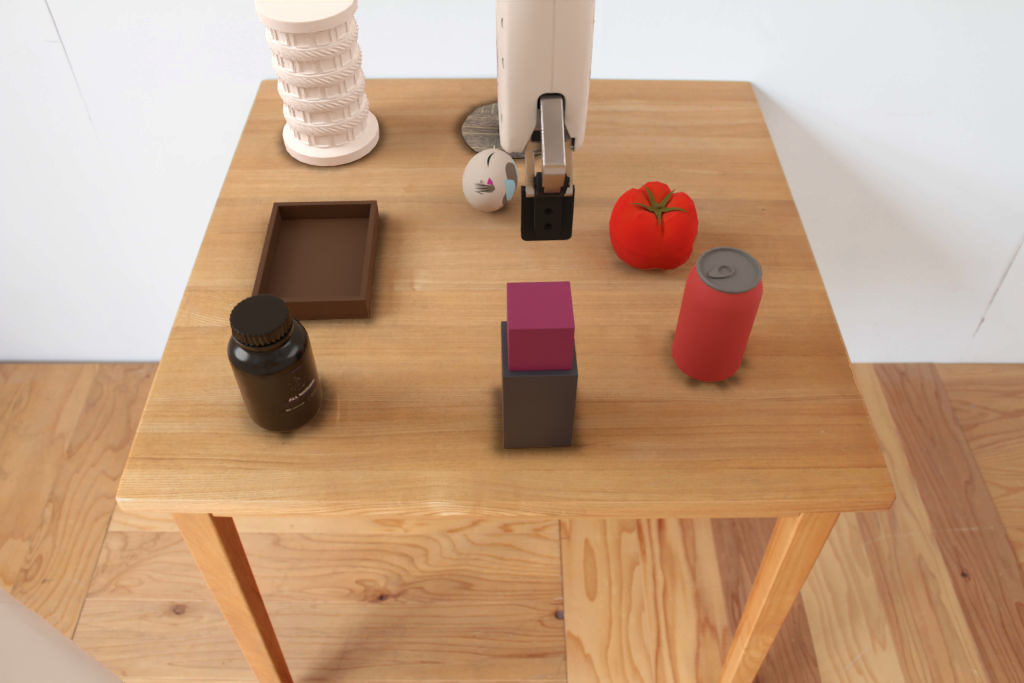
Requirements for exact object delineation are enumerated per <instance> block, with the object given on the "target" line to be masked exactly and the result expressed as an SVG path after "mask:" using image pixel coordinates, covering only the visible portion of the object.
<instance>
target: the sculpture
mask: <svg viewBox="0 0 1024 683" xmlns="http://www.w3.org/2000/svg"><path fill="white" fill-rule="evenodd" d="M461 136H462V138H463V140H464V142H465V143H466V145H468V147H470V149H472V150H474V152H476V153H479V152H481V151H484V150H487V149H493V147H494V145H495V149H499V150H502V151H504V152H506V151H505V150H504V149H503V148H502V146H501V143H500V132H499V113H498V101H497V102H494V103H491V104H487V105H482V106H479V107H476V108H475V110H473V112H471V113H469V114H468V115H467V118H465V120H464V122H463V123H462V126H461ZM506 153H507V152H506ZM507 154H508V155H509V156H510V157H511V158H512V159H523V158H524V159H525V151H524V150H523V151H522V152H512V153H507ZM537 155H542V154H541V153H534V156H537Z"/></svg>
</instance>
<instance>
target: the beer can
mask: <svg viewBox="0 0 1024 683" xmlns="http://www.w3.org/2000/svg"><path fill="white" fill-rule="evenodd" d="M763 275H764V274H763V269H762V266H761V264H760V262H759V260H757V259H756V257H754V256H753V255H752V254H750V253H749V252H747V251H745V250H743V249H740V248H737V247H732V246H717V247H712V248H709V249H707V250H705V251H704V252H702V253H701V254H700V255H699V256H698V258H697V261H696V263H695V264H694V265H693V266H692V268H691V269H690V271H689V273H688V274H687V278H686V281H685V287H684V290H683V295H682V300H681V304H680V308H679V313H678V318H677V322H676V327H675V331H674V336H673V340H672V345H671V357H672V359H673V362H674V364H675V366H676V367H677V368H678V369H679V370H680V371H681V372H682V373H683V374H684V375H686V376H688V377H690V378H691V379H693V380H697V381H699V382H703V383H704V382H705V383H717V382H721V381H726V380H727V379H730V377H733V376H734V375H735V374H736V373H737V372H738V370H739V369H740V368H741V365H742V361H743V358H744V355H745V352H746V349H747V346H748V342H749V340H750V336H751V334H752V333H751V332H752V330H753V327H754V323H755V320H756V317H757V314H758V311H759V308H760V305H761V302H762V298H763V295H764V294H763V293H764V284H763V280H762V279H763V278H762V277H763Z"/></svg>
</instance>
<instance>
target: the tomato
mask: <svg viewBox="0 0 1024 683" xmlns="http://www.w3.org/2000/svg"><path fill="white" fill-rule="evenodd" d="M675 191H676V188H674V189H673V190H672V189H670V187H669V186H668V184H667V183H665V182H661V181H658V180H654V181H647V182H646V183H644V184H641V186H640V187H639V188H634V187H632V188H630V189H628V190H626V191H625V192H623V193H622V195H620V196H619V197H618V199H617V200H616V202H615V203H614V205H613V208H612V210H611V214H610V216H609V217H610V218H609V222H608V231H609V234H608V235H609V241H610V244H611V246H612V249H613V251H614V253H615V254H616V256H617V258H618V259H619V260H621V261H622V262H623V263H624V264H626V265H627V266H629V267H631V268H634V269H638V270H654V269H658V270H662V271H671V270H677V269H678V268H680V267H682V266H683V265H685V264H686V263H687V262H688V261H689V260H690V259H691V256H692V253H693V250H694V243H695V241H696V239H697V236H698V233H699V218H698V212H697V208H696V204H695V201H694V200H693V199H692V198H691V196H689V194H688V193H685V192H684V191H679V192H675Z"/></svg>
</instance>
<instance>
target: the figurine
mask: <svg viewBox="0 0 1024 683" xmlns="http://www.w3.org/2000/svg"><path fill="white" fill-rule="evenodd" d="M461 182H462V183H461V185H462V192H463V195H464V197H465V200H466V201H467V203H468V204H469V205H470V206H471V207H473V208H474V209H476V210H478V211H481V212H484V213H486V212H487V213H488V212H489V213H490V212H495V211H497V210H500V209H502V208H504V207H505V206H506V205H507V204H508V203H509V202H510V201H511V200H512V198H513V197H514V195H515V193H516V191H517V187H518V183H519V173H518V168H517V165H516V162H515V161H514V158H512V157H510V156H509V155H508V154H507V153H506V152H504V151H502V150H499V149H495V145H494V147H493V149H487V150H484V151H481V152H477V153H476V154H475V155H474V156H473V157H472V158H471V159H470V160H469V161H468V163H467V164H466V166H465V168H464V171H463V174H462V180H461Z"/></svg>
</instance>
